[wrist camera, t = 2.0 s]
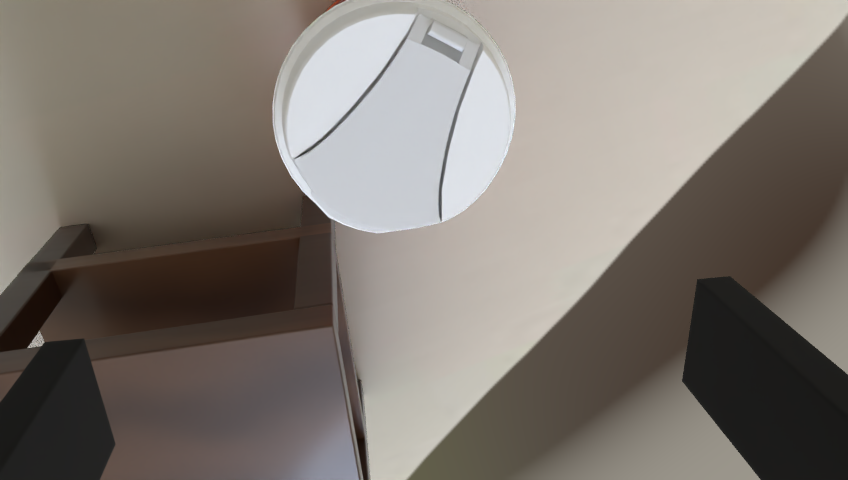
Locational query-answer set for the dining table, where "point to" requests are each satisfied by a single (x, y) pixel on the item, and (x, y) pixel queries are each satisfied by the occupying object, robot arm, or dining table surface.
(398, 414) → the dining table surface
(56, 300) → the rack
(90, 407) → the robot arm
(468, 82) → the paper cup
